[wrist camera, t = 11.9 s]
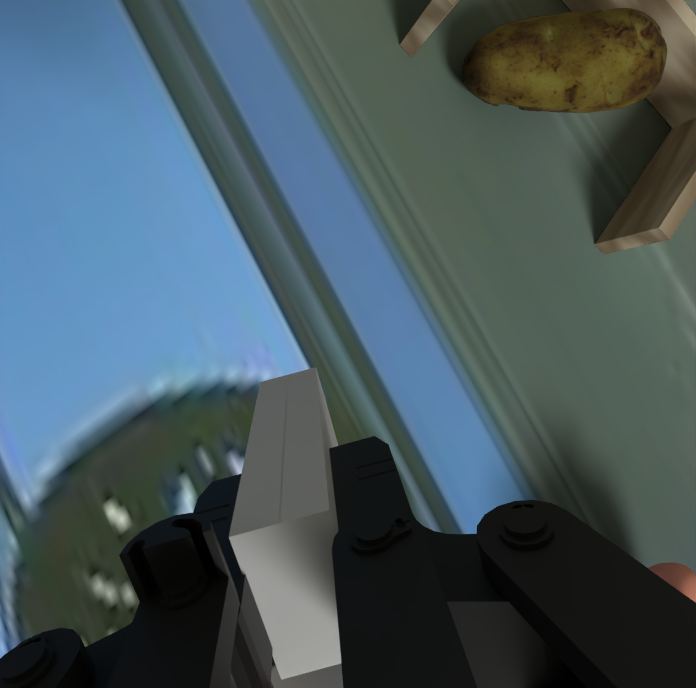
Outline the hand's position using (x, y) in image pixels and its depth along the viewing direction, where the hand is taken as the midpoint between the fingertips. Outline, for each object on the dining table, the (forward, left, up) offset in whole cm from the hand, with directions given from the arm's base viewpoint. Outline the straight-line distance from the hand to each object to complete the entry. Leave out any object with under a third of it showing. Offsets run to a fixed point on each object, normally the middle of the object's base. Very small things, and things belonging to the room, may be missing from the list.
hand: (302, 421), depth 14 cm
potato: (+4, +31, -21) cm, 38 cm away
